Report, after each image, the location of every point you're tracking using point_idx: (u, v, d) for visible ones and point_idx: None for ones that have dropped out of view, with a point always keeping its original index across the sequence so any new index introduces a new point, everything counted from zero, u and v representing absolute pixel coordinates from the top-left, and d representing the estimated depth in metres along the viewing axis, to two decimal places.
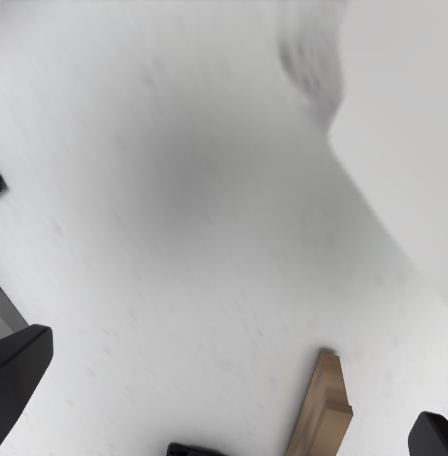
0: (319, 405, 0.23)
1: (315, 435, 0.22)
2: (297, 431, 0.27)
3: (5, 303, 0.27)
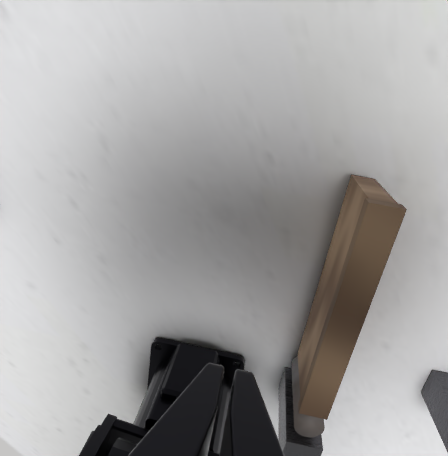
0: (352, 225, 0.17)
1: (349, 255, 0.16)
2: (317, 296, 0.21)
3: None
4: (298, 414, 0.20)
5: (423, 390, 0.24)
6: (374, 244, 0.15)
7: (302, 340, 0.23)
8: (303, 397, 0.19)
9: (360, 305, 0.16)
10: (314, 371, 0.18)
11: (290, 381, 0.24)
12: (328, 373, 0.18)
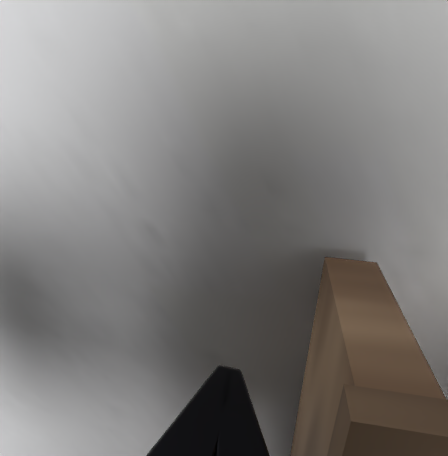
0: (328, 410, 0.07)
1: None
2: None
3: None
4: None
5: None
6: None
7: None
8: None
9: None
10: None
11: None
12: None
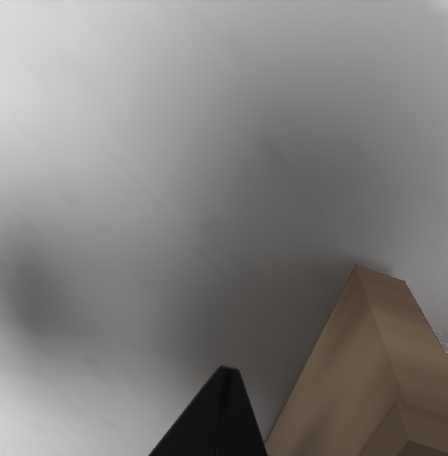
0: (346, 418, 0.07)
1: None
2: None
3: None
4: None
5: None
6: None
7: None
8: None
9: None
10: None
11: None
12: None
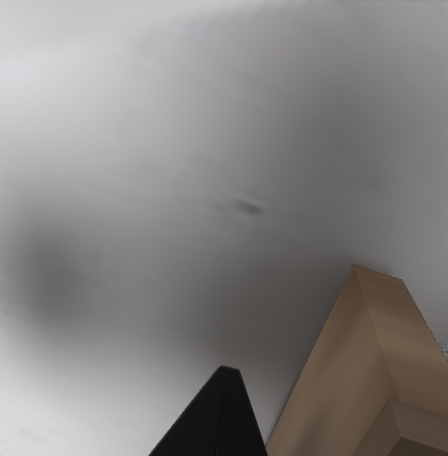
0: (343, 417, 0.07)
1: None
2: None
3: None
4: None
5: None
6: None
7: None
8: None
9: None
10: None
11: None
12: None
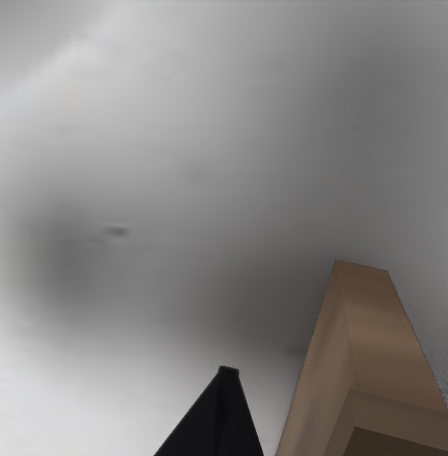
0: (325, 412, 0.07)
1: None
2: None
3: None
4: None
5: None
6: None
7: None
8: None
9: None
10: None
11: None
12: None
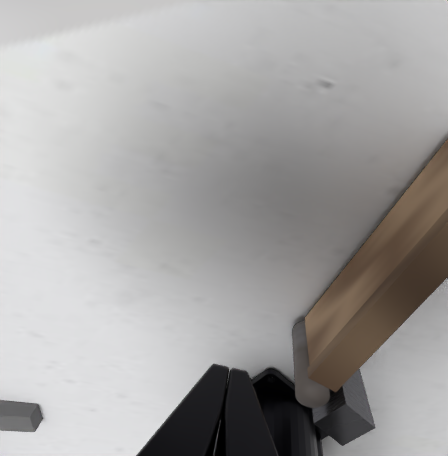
0: None
1: None
2: (358, 260, 0.18)
3: None
4: (304, 379, 0.17)
5: None
6: None
7: (317, 304, 0.20)
8: (321, 361, 0.16)
9: (437, 273, 0.14)
10: (348, 335, 0.16)
11: None
12: (362, 341, 0.16)
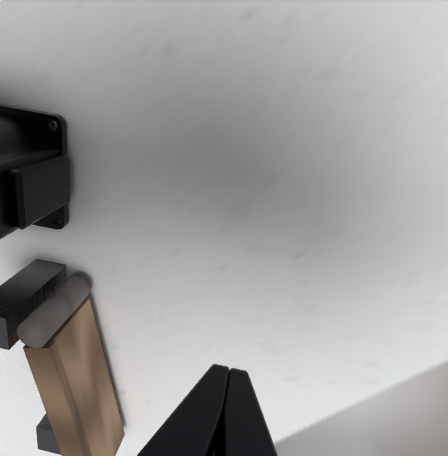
0: None
1: None
2: (100, 368, 0.24)
3: None
4: (48, 339, 0.19)
5: None
6: None
7: (91, 318, 0.23)
8: (55, 363, 0.19)
9: (64, 445, 0.21)
10: (62, 392, 0.20)
11: (55, 279, 0.22)
12: (51, 392, 0.20)
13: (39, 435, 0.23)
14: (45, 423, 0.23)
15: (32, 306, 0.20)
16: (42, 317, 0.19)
